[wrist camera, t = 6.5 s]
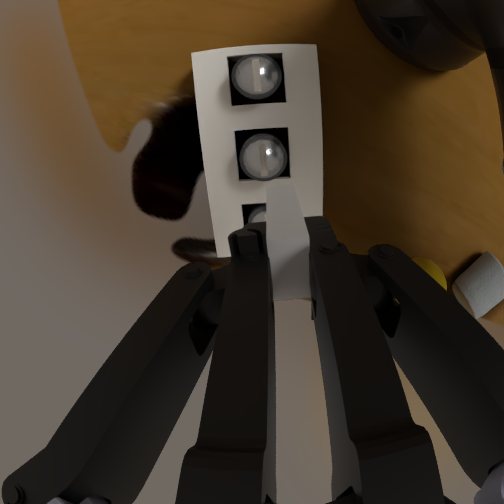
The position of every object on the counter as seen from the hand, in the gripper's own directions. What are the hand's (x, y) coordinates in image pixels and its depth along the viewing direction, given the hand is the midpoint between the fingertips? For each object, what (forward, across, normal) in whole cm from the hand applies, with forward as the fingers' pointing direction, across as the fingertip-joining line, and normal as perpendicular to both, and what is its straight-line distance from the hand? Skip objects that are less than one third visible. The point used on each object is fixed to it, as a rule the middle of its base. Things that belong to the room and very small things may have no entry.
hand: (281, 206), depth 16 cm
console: (+12, -1, +2) cm, 12 cm away
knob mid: (+10, -1, +2) cm, 10 cm away
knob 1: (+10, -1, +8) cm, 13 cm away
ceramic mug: (+13, +30, -18) cm, 37 cm away
